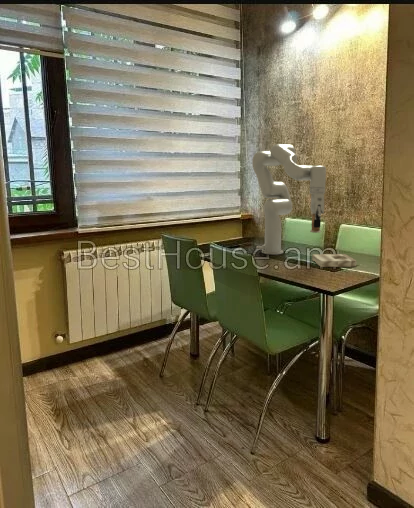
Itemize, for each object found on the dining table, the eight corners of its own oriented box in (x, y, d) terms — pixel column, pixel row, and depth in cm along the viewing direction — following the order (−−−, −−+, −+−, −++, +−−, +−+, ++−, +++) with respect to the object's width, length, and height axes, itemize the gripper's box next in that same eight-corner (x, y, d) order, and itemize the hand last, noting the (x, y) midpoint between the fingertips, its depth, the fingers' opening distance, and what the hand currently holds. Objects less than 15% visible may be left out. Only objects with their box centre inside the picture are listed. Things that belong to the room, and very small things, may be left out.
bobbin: (311, 232, 208) (312, 213, 206) (309, 231, 213) (310, 212, 211) (321, 232, 208) (322, 212, 206) (319, 231, 213) (320, 211, 211)
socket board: (320, 266, 206) (321, 261, 206) (312, 259, 222) (312, 254, 221) (356, 266, 206) (356, 260, 206) (345, 259, 222) (345, 254, 222)
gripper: (329, 191, 198) (327, 229, 202) (320, 189, 214) (319, 224, 218) (313, 191, 198) (312, 229, 202) (306, 190, 214) (304, 224, 218)
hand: (315, 226), depth 210 cm, fingers closed on bobbin, 4 cm apart
